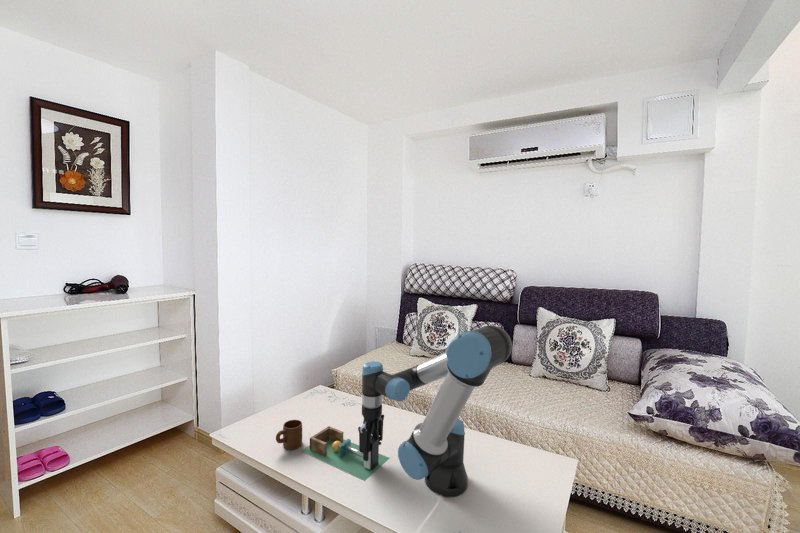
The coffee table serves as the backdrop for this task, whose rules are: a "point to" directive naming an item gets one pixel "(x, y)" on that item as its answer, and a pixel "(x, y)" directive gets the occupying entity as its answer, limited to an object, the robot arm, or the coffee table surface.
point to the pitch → (347, 461)
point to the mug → (291, 435)
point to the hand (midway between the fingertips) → (371, 464)
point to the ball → (336, 445)
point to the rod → (374, 450)
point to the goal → (320, 439)
